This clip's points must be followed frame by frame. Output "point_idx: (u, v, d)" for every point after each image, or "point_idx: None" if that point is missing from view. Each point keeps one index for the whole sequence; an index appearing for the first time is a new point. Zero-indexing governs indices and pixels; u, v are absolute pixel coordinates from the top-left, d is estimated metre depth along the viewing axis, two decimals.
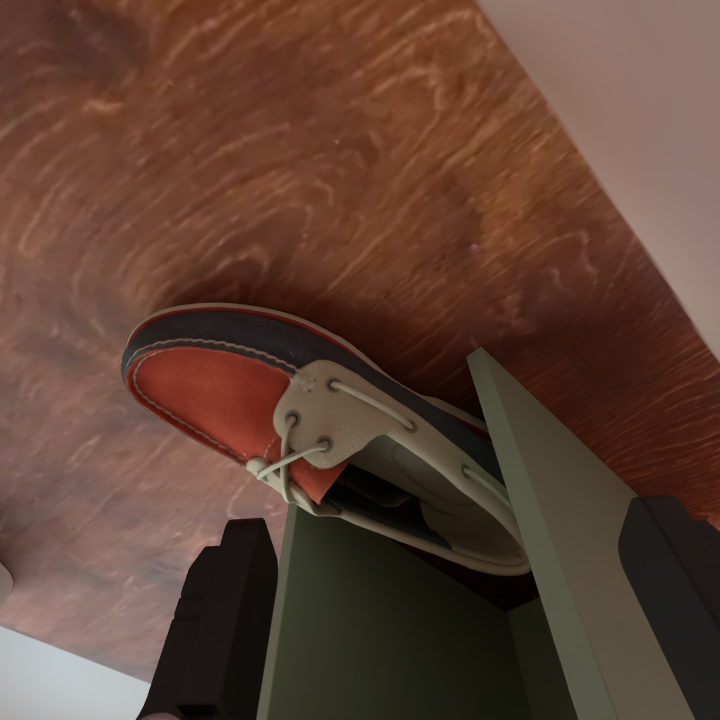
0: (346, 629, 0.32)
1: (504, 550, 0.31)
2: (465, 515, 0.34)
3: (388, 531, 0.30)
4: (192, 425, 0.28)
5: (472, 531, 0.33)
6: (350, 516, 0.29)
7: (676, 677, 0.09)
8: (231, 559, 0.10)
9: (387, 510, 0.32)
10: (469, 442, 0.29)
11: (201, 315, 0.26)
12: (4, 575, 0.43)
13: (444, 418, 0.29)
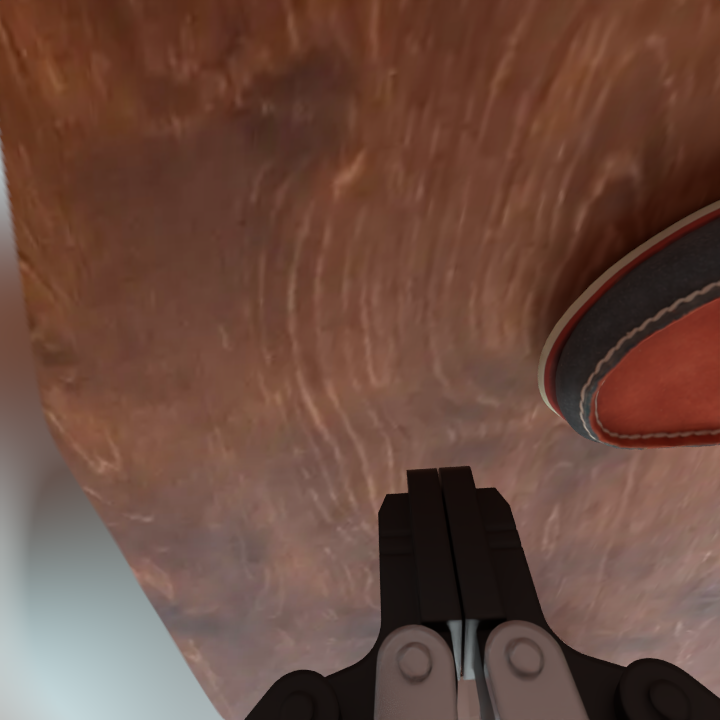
0: None
1: None
2: None
3: None
4: (700, 429, 0.19)
5: None
6: None
7: None
8: (425, 502, 0.10)
9: None
10: None
11: (616, 295, 0.18)
12: None
13: None
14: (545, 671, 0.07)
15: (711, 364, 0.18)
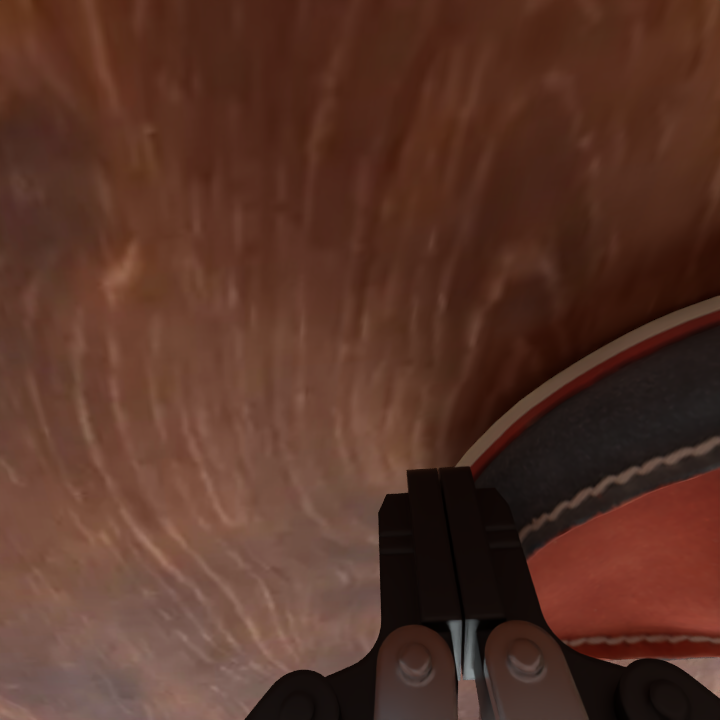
0: None
1: None
2: None
3: None
4: (654, 633, 0.13)
5: None
6: None
7: None
8: (425, 502, 0.10)
9: None
10: None
11: (520, 454, 0.12)
12: None
13: None
14: (545, 671, 0.07)
15: (664, 558, 0.12)
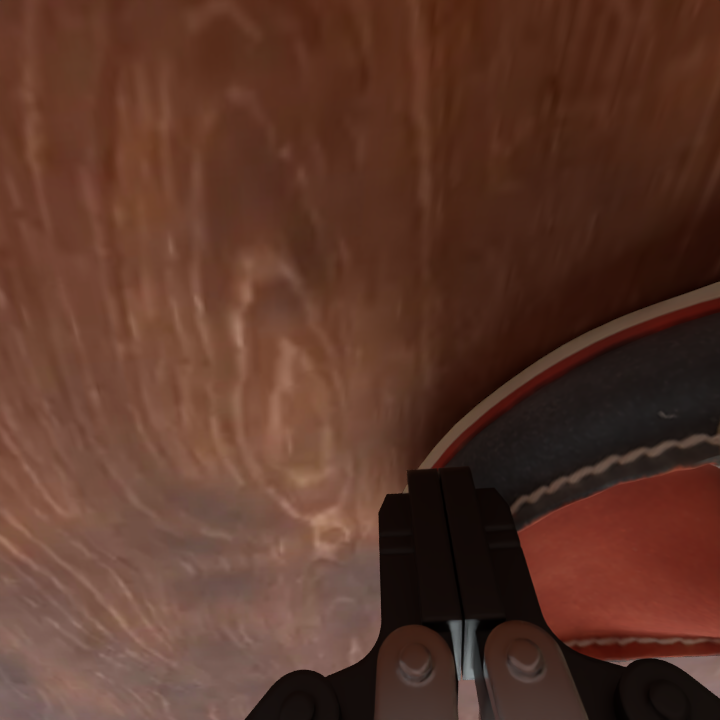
0: None
1: None
2: None
3: None
4: (604, 636, 0.14)
5: None
6: None
7: None
8: (425, 502, 0.10)
9: None
10: None
11: None
12: None
13: None
14: (545, 671, 0.07)
15: (594, 567, 0.13)
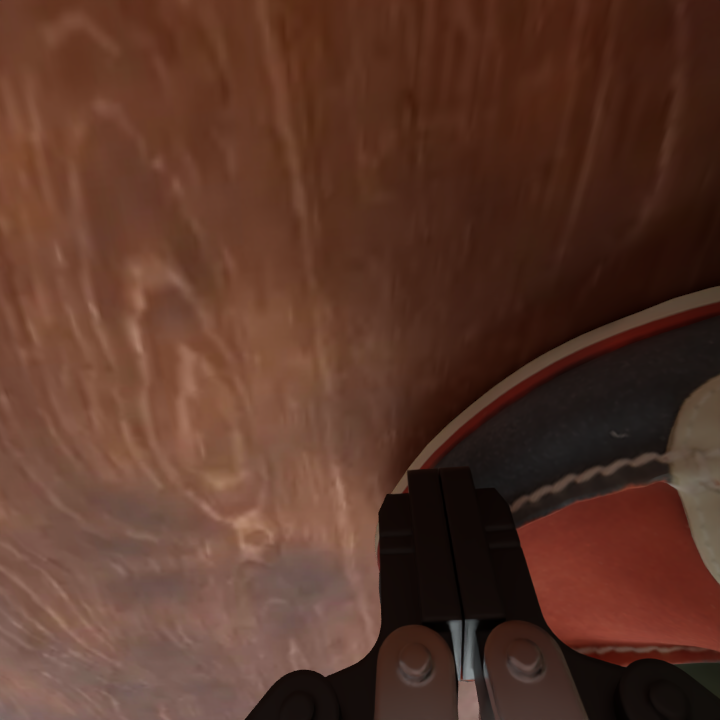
0: None
1: None
2: None
3: None
4: (582, 645, 0.14)
5: None
6: None
7: None
8: (425, 502, 0.10)
9: None
10: None
11: None
12: None
13: None
14: (544, 671, 0.07)
15: (565, 580, 0.13)
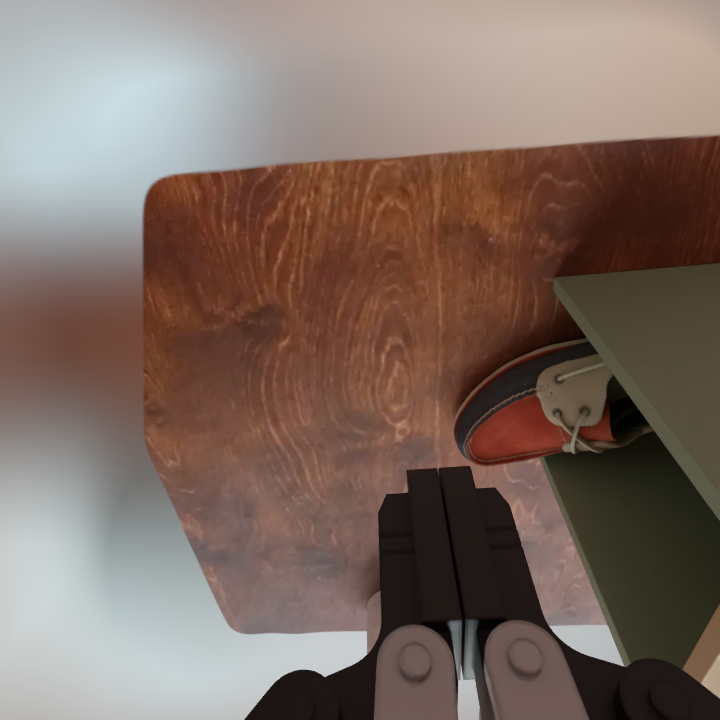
0: (625, 502, 0.42)
1: None
2: None
3: None
4: (520, 454, 0.45)
5: None
6: (650, 428, 0.40)
7: None
8: (425, 502, 0.10)
9: None
10: None
11: (470, 406, 0.44)
12: None
13: None
14: (545, 671, 0.07)
15: (513, 429, 0.44)
